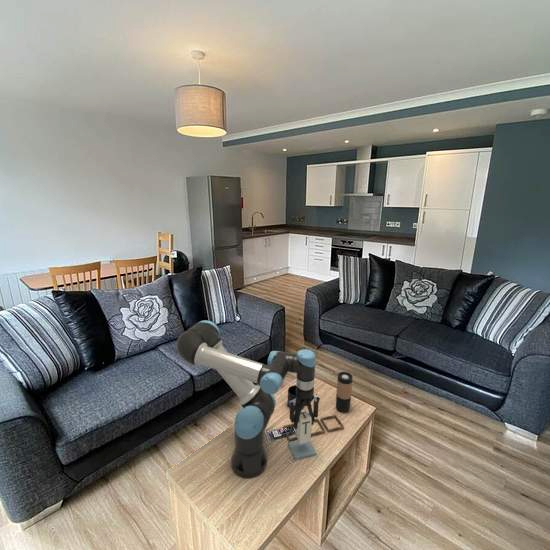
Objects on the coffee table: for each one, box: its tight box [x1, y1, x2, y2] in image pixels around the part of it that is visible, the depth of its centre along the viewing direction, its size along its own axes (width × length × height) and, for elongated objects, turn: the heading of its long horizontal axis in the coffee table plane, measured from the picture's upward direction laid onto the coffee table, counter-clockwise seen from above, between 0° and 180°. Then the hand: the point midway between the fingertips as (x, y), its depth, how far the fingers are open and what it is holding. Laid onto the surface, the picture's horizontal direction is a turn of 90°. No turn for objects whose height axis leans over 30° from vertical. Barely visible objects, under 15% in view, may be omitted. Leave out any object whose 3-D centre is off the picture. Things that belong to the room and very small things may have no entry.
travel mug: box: [335, 371, 353, 414], centre depth 154 cm, size 8×8×20 cm
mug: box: [287, 384, 305, 411], centre depth 158 cm, size 9×12×9 cm
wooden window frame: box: [311, 417, 326, 437], centre depth 142 cm, size 8×8×2 cm
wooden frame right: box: [319, 414, 345, 434], centre depth 145 cm, size 8×8×2 cm
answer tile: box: [287, 440, 317, 461], centre depth 130 cm, size 10×9×1 cm
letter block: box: [295, 409, 312, 444], centre depth 127 cm, size 5×5×12 cm
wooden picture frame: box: [282, 423, 298, 442], centre depth 139 cm, size 8×8×2 cm
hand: (303, 432), depth 128 cm, fingers closed on letter block, 5 cm apart
